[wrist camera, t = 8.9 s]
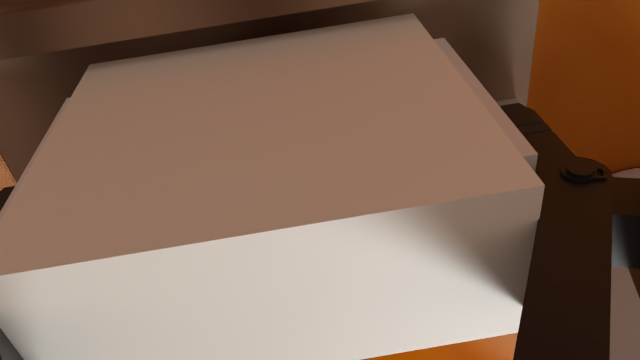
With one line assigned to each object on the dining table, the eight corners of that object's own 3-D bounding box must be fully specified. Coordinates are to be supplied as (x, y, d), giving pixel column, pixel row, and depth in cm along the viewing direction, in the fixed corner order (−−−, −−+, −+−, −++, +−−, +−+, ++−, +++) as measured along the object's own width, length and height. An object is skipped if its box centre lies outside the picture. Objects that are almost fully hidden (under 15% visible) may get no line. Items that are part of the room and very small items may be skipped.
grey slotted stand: (52, 217, 23) (1, 331, 18) (-96, -54, 16) (-237, 9, 12) (511, 142, 23) (581, 232, 19) (543, -153, 17) (662, -131, 12)
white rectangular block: (132, 171, 19) (60, 411, 11) (89, 64, 16) (-36, 281, 9) (415, 125, 19) (521, 332, 12) (413, 13, 17) (545, 185, 9)
